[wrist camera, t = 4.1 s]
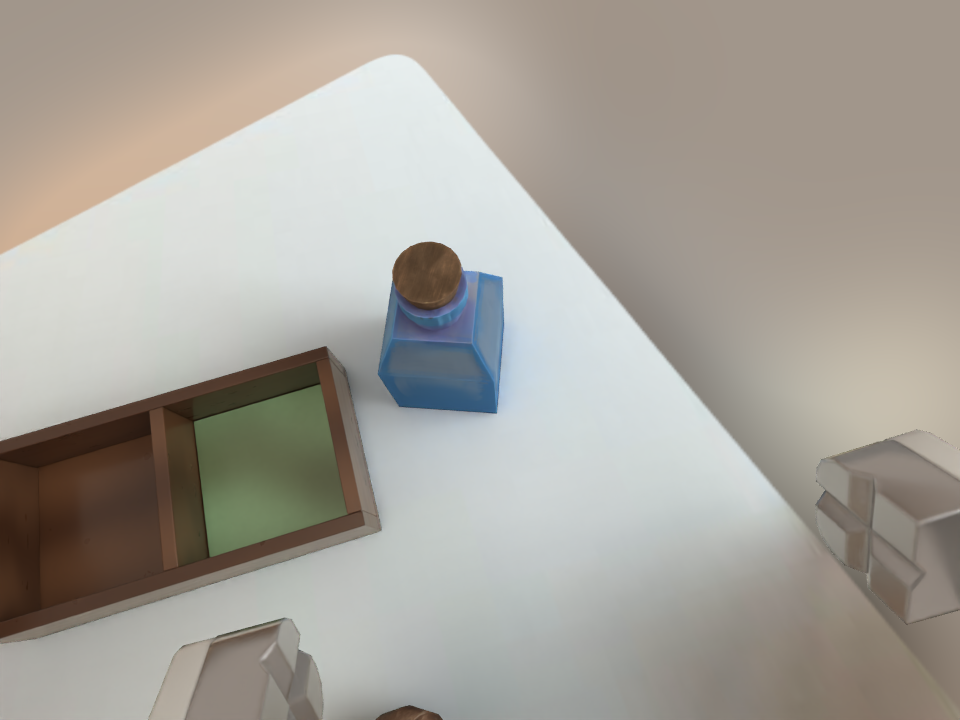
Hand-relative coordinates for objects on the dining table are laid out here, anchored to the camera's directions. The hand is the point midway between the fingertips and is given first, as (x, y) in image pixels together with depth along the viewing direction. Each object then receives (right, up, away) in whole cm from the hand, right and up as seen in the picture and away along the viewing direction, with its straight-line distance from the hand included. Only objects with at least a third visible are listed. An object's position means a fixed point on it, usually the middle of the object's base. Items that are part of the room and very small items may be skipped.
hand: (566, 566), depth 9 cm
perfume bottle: (-3, +3, +29) cm, 29 cm away
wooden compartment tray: (-18, -5, +26) cm, 32 cm away
